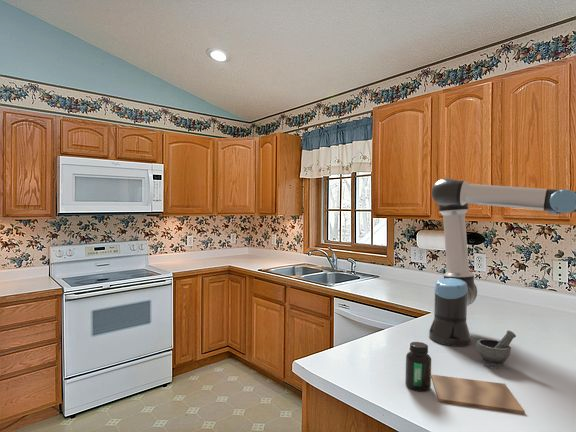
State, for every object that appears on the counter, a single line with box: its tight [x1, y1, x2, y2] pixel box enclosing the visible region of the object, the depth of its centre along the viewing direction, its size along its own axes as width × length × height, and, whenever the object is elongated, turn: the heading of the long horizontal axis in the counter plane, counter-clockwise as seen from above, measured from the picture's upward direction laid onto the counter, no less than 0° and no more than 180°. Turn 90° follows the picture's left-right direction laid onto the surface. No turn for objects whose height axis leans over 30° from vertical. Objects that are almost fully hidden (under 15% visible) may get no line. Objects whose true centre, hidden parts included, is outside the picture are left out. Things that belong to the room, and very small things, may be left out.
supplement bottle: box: [404, 341, 432, 392], centre depth 104 cm, size 7×7×12 cm
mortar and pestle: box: [476, 330, 517, 370], centre depth 120 cm, size 11×9×12 cm
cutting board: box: [431, 374, 526, 415], centre depth 100 cm, size 20×15×1 cm
